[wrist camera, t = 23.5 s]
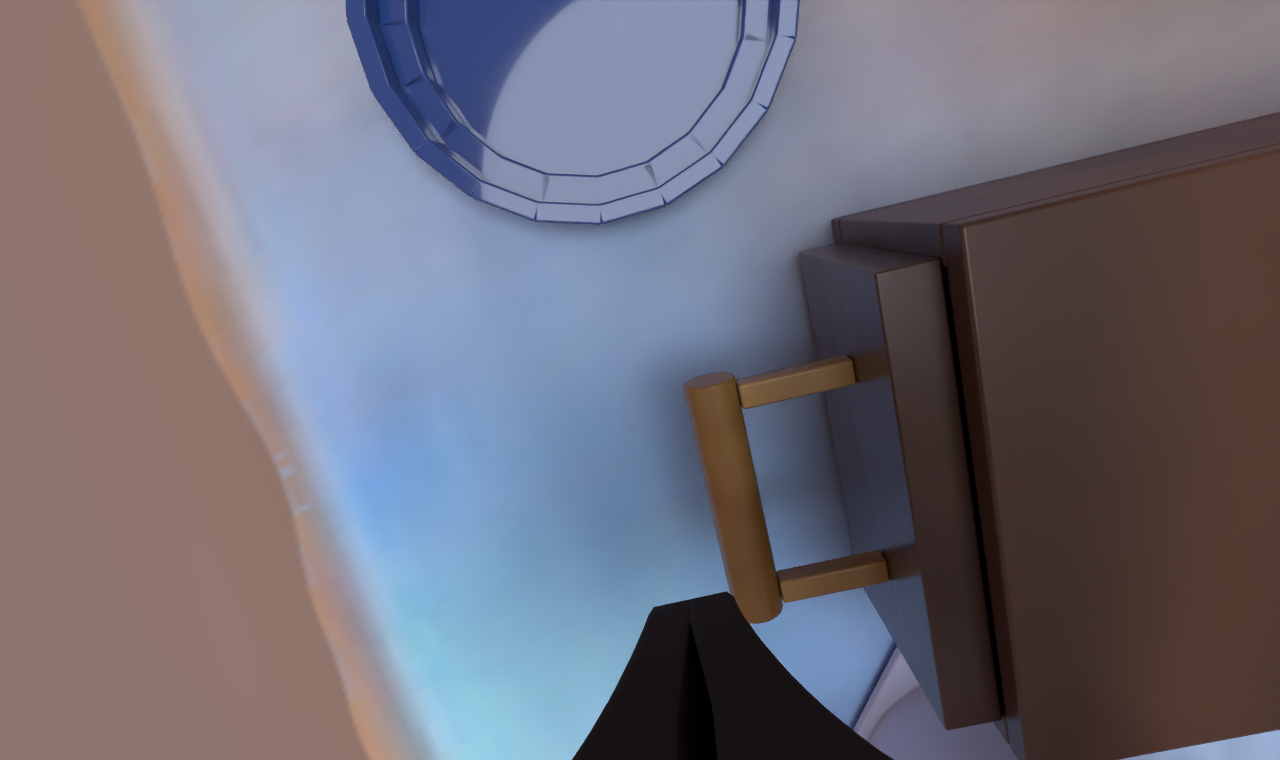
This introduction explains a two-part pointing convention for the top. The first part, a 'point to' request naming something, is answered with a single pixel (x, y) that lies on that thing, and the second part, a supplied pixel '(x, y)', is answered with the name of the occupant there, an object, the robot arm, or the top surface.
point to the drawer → (871, 470)
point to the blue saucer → (574, 94)
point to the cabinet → (1121, 434)
